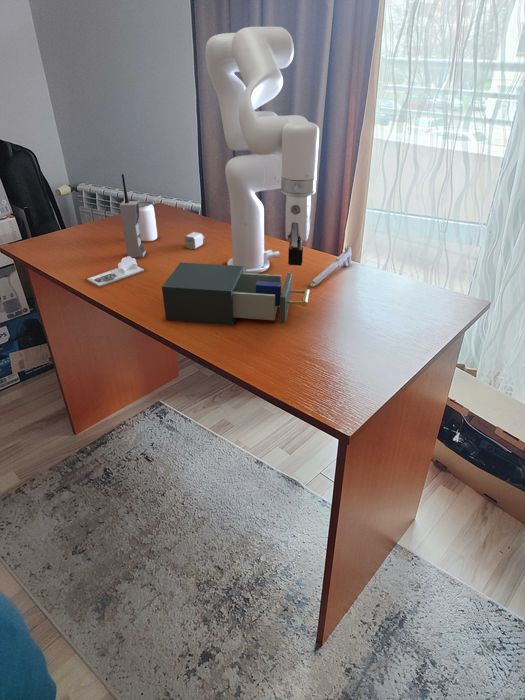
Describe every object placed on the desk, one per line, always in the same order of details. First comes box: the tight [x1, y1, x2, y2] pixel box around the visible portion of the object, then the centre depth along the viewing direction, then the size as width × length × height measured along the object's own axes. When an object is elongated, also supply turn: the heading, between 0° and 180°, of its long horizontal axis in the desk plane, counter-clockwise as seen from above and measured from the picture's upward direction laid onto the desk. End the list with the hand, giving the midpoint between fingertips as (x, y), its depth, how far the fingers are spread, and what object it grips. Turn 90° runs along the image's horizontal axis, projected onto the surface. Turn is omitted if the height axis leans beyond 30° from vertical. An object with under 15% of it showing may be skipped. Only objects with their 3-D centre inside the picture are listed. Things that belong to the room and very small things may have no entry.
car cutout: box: [86, 255, 145, 288], centre depth 144 cm, size 15×7×4 cm, turn 137°
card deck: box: [256, 281, 282, 307], centre depth 124 cm, size 6×2×5 cm, turn 81°
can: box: [138, 200, 158, 243], centre depth 167 cm, size 6×6×12 cm
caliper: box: [309, 245, 353, 288], centre depth 142 cm, size 20×1×6 cm, turn 141°
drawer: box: [232, 272, 311, 325], centre depth 123 cm, size 20×14×7 cm, turn 81°
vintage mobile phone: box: [118, 173, 147, 259], centre depth 151 cm, size 4×5×25 cm
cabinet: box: [161, 262, 244, 326], centre depth 125 cm, size 17×15×9 cm
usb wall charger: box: [184, 231, 206, 250], centre depth 164 cm, size 4×7×4 cm, turn 150°
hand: (295, 263), depth 118 cm, fingers closed
